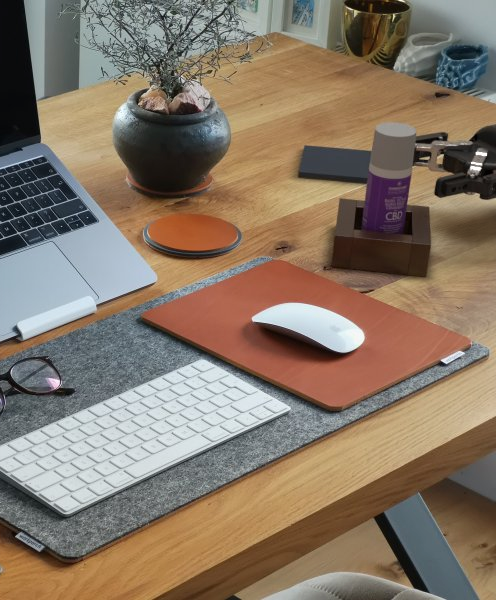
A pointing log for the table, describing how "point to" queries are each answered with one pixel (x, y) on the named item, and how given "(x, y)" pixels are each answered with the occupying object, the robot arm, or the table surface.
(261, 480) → the table surface
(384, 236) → the stand
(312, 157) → the mat
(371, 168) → the container
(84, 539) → the table surface
